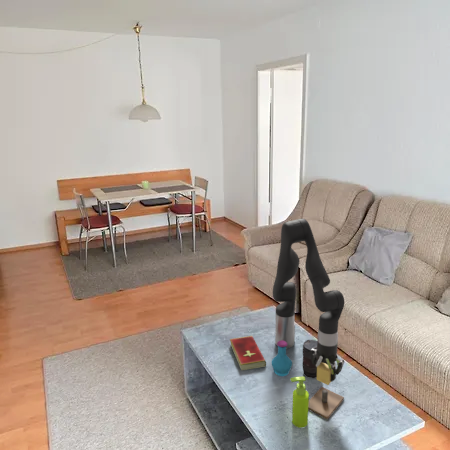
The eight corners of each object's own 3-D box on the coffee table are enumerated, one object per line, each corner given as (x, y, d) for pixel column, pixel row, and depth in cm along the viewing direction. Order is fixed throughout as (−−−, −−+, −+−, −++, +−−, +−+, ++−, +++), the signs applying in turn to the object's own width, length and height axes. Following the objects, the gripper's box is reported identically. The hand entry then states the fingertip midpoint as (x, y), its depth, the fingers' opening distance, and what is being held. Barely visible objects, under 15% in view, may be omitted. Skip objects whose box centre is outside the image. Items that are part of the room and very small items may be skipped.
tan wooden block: (322, 373, 163) (323, 360, 161) (334, 378, 160) (335, 365, 158) (316, 379, 159) (317, 366, 158) (328, 385, 156) (328, 372, 155)
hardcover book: (252, 342, 206) (252, 335, 205) (266, 367, 187) (266, 359, 186) (230, 345, 204) (229, 338, 203) (240, 372, 184) (240, 364, 183)
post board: (321, 388, 172) (322, 377, 170) (343, 399, 165) (344, 388, 163) (304, 407, 162) (304, 395, 160) (327, 419, 155) (328, 407, 154)
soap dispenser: (287, 417, 157) (288, 373, 151) (305, 415, 158) (307, 372, 152) (291, 428, 151) (292, 384, 145) (309, 427, 152) (311, 382, 146)
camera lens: (298, 374, 181) (299, 345, 177) (308, 365, 187) (309, 337, 182) (314, 382, 176) (315, 352, 171) (323, 372, 181) (325, 343, 177)
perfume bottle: (279, 380, 177) (279, 351, 173) (267, 368, 185) (267, 340, 181) (296, 373, 181) (297, 344, 177) (284, 362, 189) (284, 334, 185)
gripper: (349, 342, 153) (347, 380, 158) (315, 329, 162) (314, 365, 167) (340, 351, 147) (338, 390, 152) (306, 337, 156) (304, 374, 161)
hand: (325, 377), depth 160 cm, fingers closed on tan wooden block, 5 cm apart
